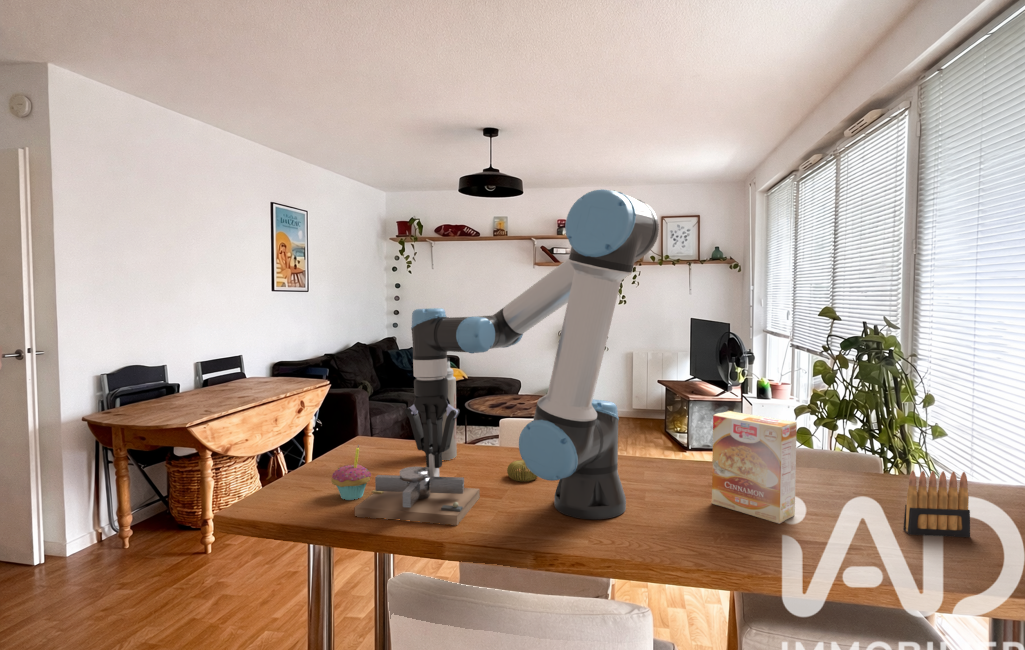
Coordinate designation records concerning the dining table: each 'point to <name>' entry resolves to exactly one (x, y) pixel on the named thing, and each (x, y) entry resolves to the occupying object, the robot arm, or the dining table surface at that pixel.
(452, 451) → the thermos bottle
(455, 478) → the capstan
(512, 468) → the sculpture
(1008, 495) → the dining table surface
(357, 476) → the cupcake
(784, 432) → the coffeecake box
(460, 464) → the dining table surface
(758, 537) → the dining table surface
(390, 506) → the stand
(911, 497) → the ammunition clip
